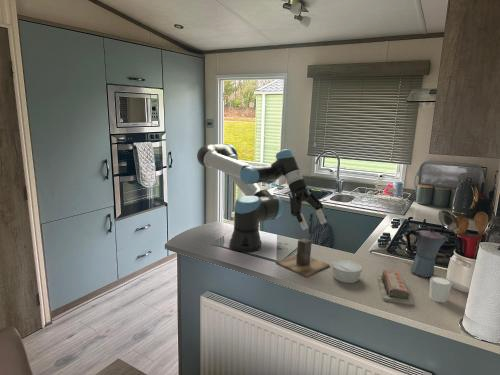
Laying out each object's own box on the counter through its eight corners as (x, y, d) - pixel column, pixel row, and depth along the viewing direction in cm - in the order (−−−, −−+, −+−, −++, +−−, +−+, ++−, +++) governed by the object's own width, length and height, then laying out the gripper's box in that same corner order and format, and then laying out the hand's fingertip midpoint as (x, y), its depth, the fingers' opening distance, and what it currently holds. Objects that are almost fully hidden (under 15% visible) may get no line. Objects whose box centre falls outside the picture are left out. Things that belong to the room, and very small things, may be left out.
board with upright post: (275, 264, 145) (277, 239, 143) (299, 255, 156) (301, 231, 154) (306, 278, 134) (308, 251, 132) (329, 267, 145) (332, 242, 143)
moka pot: (445, 281, 137) (453, 233, 133) (403, 275, 140) (411, 229, 136) (437, 271, 146) (445, 226, 142) (398, 266, 149) (405, 222, 145)
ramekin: (327, 279, 133) (329, 267, 132) (334, 269, 143) (336, 257, 142) (357, 287, 128) (359, 274, 127) (362, 276, 138) (364, 263, 137)
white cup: (426, 299, 122) (429, 281, 120) (428, 291, 127) (431, 274, 126) (448, 306, 118) (451, 287, 117) (449, 297, 124) (452, 279, 123)
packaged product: (377, 267, 136) (404, 271, 134) (376, 279, 137) (403, 282, 135) (384, 289, 119) (415, 293, 117) (382, 301, 120) (413, 306, 118)
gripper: (283, 180, 143) (303, 228, 138) (318, 175, 160) (337, 218, 155) (271, 188, 148) (290, 234, 143) (306, 182, 165) (324, 223, 160)
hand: (315, 226), depth 149 cm, fingers open, 13 cm apart
